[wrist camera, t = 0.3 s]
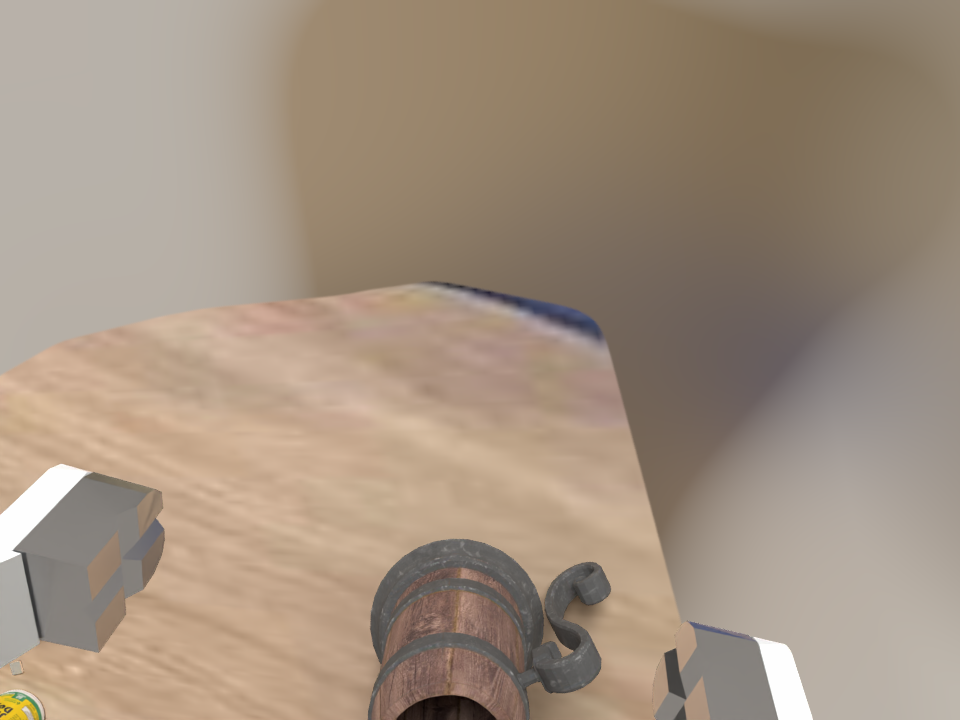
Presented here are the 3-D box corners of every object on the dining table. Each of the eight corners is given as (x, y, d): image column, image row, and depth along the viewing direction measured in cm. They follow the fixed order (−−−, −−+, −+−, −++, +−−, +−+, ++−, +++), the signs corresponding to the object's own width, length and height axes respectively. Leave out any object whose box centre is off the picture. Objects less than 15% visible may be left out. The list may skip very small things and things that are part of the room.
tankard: (417, 736, 66) (389, 916, 46) (340, 585, 65) (277, 700, 45) (634, 634, 65) (701, 770, 45) (558, 479, 65) (592, 549, 45)
